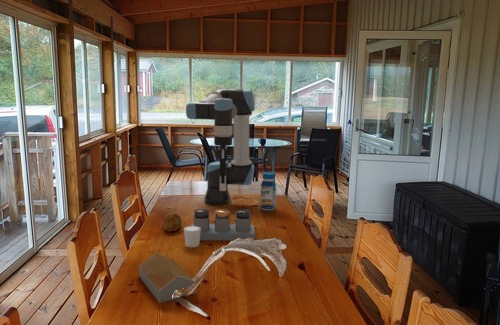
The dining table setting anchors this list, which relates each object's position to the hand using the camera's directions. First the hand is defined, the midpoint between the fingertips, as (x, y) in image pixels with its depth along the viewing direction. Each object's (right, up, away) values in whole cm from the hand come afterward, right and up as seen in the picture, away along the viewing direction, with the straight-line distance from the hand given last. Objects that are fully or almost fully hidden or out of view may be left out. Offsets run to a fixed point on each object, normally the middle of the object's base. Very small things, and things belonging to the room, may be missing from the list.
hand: (222, 190), depth 167 cm
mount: (0, -20, +3) cm, 20 cm away
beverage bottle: (+22, -14, +46) cm, 52 cm away
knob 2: (+9, -16, +3) cm, 19 cm away
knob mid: (0, -16, +3) cm, 17 cm away
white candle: (-12, -22, -8) cm, 26 cm away
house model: (-15, -28, -42) cm, 53 cm away
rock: (-24, -19, +11) cm, 32 cm away
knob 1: (-9, -16, +2) cm, 19 cm away
